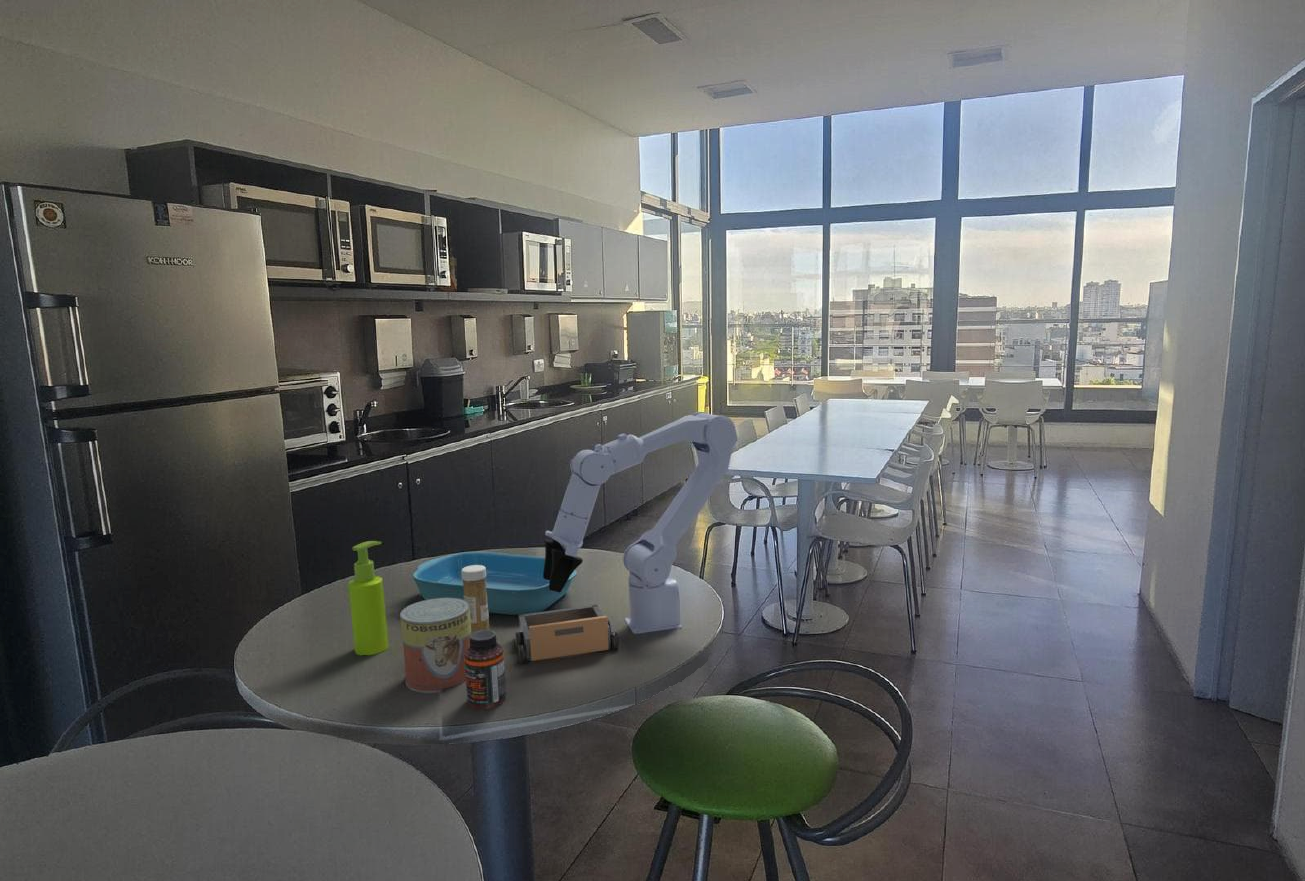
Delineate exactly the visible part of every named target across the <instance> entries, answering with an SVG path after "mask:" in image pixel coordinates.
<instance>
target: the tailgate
mask: <svg viewBox="0 0 1305 881" xmlns="http://www.w3.org/2000/svg"><path fill="white" fill-rule="evenodd" d="M607 620H608V617H607V615H603V616H600V617H593V618H585V619H578V620H571V621H564V622H556V623H549V624H542V625H534V626H529V636H530V652H531V661H530V662H534V661H542V660H546V659H553V658H555V659H556V658H561V657H569V656H574V655H581V654H588V653H594V652H602V651H607V650H609V649H608V629H607Z"/></svg>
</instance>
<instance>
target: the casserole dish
mask: <svg viewBox="0 0 1305 881" xmlns="http://www.w3.org/2000/svg"><path fill="white" fill-rule="evenodd" d="M544 564H545V556H536V555H535V556H534V555H523V554H512V553H502V552H489V551H488V552H487V551H464V552H458V553H457V552H456V553H452V554H449V555H445V556H441V557H436V558H433V559H429V560H426V561H424V562H423V563H421V564H419V565H417V567H416V569H417V570H416V571H414V573H413V574H412V577H413V579H414V581H415V584H416V587H417V589H418V591H419V593H420V595H421V596H422V598H423V599H424V600H428V599H434V598H459V599H463V600H464V589H463V581H462V576H461V570H462V569H463V568H464V567H467V566H471V565H482V566H484V567H485V568H486V592H487V601H488V613H489V614H499V615H500V614H501V615H508V616H509V615H510V616H519V615H523V614H530V613H538V612H544V611H546V609H548V608H550V607H551V606H552V605H553V604H554V603H556V602H557V601H559V600H560V599H561V598H562V597H563V596H564V595H566V593H568V591H569V588H570V586H571V583H572V581H573V579H574V578H576V576H577V575H578V572H577V570H576V569H575V570H574V571H573V573H572V574H571V576H570V577H569V579H568V581H567V582H566V584H565V586H564V588H563V589H562V591H561V592H560V593H559V592H555V591H552V590H549V582H550V580H546V579H543V571H544Z"/></svg>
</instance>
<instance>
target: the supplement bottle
mask: <svg viewBox="0 0 1305 881" xmlns="http://www.w3.org/2000/svg"><path fill="white" fill-rule="evenodd" d="M504 655H505V654H504V649H503V646H502V645H501V644H500V643H498V642H497V633H496V632H495V631H494V630H491V629H490V630H480V631H476V632H474V633H472V634H471V635H470V646H469V647H468V648H467V649H466V651H465V655H464V657H465V672H466V681H465V683H466V684H465V686H466V699H467V705H468V706H469V707H470V708H472V709H475V710H489V709H493V708H497V707H498V706H500V705H502V704H503V703H505V701H506V700H507V690H506V687H507V686H506V672H505V660H504V659H505V657H504Z"/></svg>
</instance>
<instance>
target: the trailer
mask: <svg viewBox="0 0 1305 881" xmlns="http://www.w3.org/2000/svg"><path fill="white" fill-rule="evenodd" d="M600 616H604V614H603V613H602V611H601V609H600V607H599V606H598V604H593V605H584V606H577V607H569V608H561V609H554V610H548V611H547V610H544V611H541V612H538V613H530V614H523V615H518V624H519V625H518V626H519V628H518V629H519V631H518V632H515V633H514V635H515V636H514V639H515V647H516V650H517V651H518V659H519V662H520V663H519V664H520V665H521V664H522V665H523V664H528V662H532V661H531V652H530V636H529V626H534V625H542V624H549V623H556V622H564V621H571V620H578V619H585V618H593V617H600ZM607 629H608V650H611V651H616V650H619V646H620V645H619V637H618V634H617V632H616V631H612V628H611V623H610V620H609V619H607Z"/></svg>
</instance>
